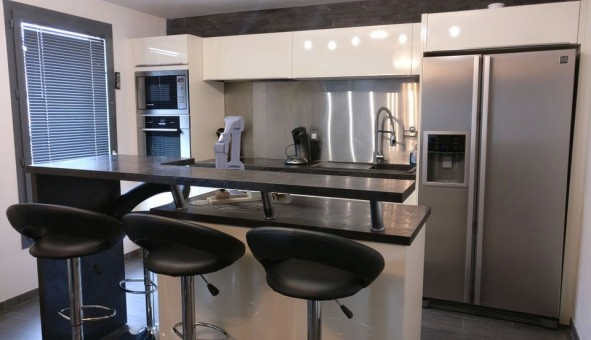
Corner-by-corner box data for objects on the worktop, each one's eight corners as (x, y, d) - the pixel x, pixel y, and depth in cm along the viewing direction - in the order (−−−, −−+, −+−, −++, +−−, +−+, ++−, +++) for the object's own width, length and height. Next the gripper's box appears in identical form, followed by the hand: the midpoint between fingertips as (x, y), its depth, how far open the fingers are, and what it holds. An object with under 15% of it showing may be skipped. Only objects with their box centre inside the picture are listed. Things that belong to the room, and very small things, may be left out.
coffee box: (270, 202, 236) (270, 172, 234) (275, 200, 242) (275, 170, 240) (287, 204, 233) (287, 173, 231) (291, 201, 239) (291, 171, 237)
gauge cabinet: (246, 194, 248) (246, 187, 248) (258, 193, 251) (258, 186, 250) (251, 197, 241) (251, 190, 240) (263, 196, 244) (263, 189, 243)
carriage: (213, 197, 239) (213, 184, 238) (226, 196, 242) (226, 183, 241) (216, 199, 234) (216, 186, 233) (229, 198, 237) (229, 185, 236)
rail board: (206, 200, 240) (206, 195, 240) (259, 195, 253) (259, 190, 252) (211, 204, 231) (211, 198, 231) (266, 199, 244) (266, 194, 243)
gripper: (210, 164, 240) (210, 189, 242) (217, 167, 227) (218, 194, 229) (223, 163, 243) (223, 188, 245) (231, 167, 230) (231, 193, 232)
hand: (221, 190), depth 238 cm, fingers closed on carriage, 3 cm apart
